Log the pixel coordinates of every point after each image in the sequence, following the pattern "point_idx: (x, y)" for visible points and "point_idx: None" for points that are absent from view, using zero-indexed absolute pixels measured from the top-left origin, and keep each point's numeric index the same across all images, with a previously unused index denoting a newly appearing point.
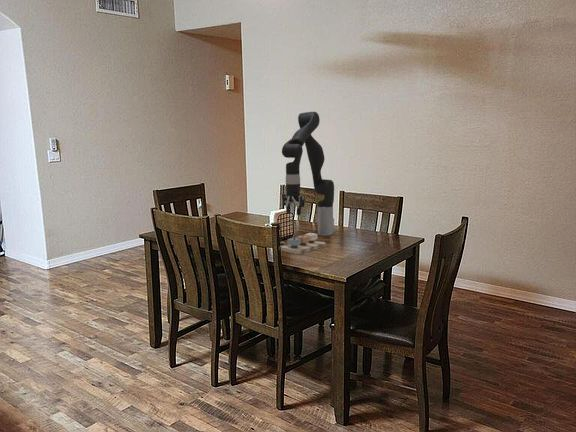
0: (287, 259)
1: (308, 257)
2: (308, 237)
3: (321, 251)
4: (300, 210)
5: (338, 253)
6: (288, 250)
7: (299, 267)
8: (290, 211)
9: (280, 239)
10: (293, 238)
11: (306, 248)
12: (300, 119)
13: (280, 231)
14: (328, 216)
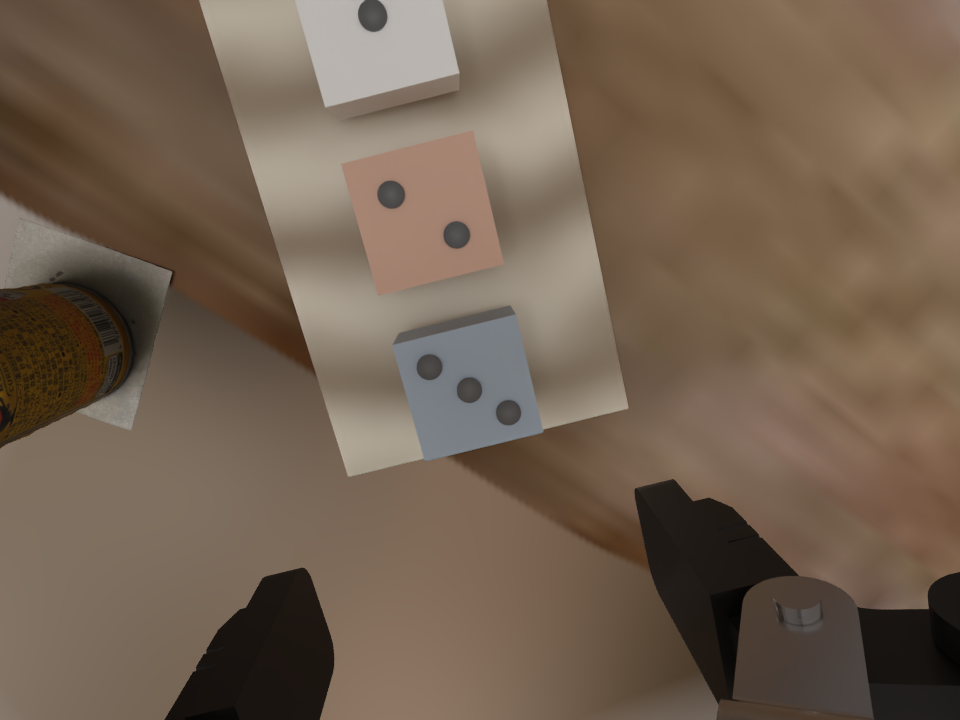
0: None
1: (757, 388)
2: (476, 151)
3: (674, 137)
4: (777, 573)
5: (867, 39)
6: None
7: None
8: (289, 592)
9: (90, 323)
10: (439, 381)
11: (601, 291)
12: None
13: (14, 336)
14: None
